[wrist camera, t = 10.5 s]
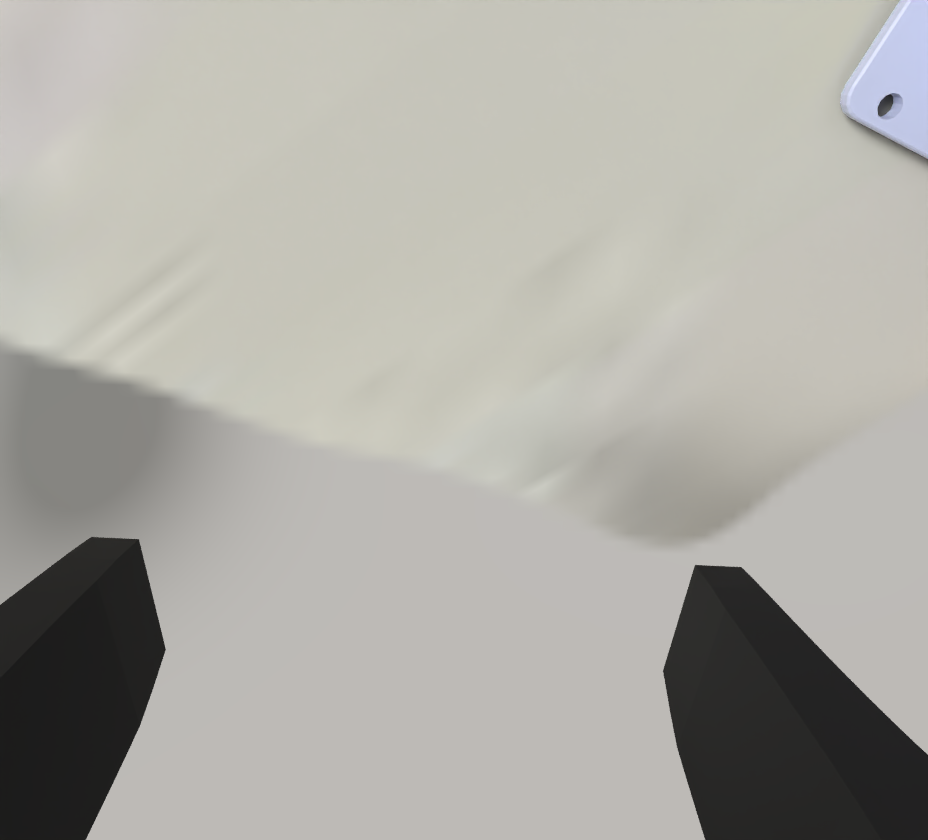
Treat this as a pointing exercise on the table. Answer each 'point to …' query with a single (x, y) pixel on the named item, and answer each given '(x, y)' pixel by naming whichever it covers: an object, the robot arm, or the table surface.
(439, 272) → the table surface
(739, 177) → the table surface
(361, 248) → the table surface
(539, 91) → the table surface
